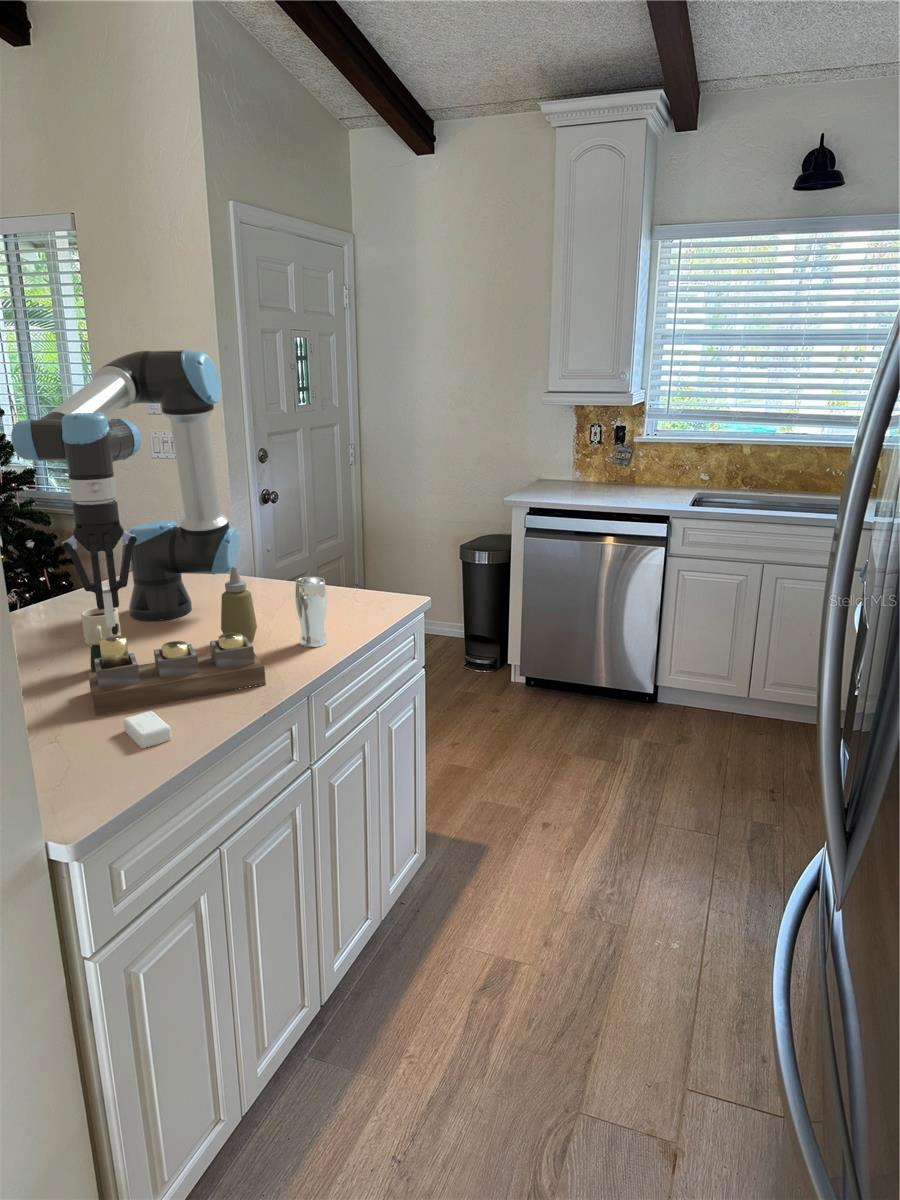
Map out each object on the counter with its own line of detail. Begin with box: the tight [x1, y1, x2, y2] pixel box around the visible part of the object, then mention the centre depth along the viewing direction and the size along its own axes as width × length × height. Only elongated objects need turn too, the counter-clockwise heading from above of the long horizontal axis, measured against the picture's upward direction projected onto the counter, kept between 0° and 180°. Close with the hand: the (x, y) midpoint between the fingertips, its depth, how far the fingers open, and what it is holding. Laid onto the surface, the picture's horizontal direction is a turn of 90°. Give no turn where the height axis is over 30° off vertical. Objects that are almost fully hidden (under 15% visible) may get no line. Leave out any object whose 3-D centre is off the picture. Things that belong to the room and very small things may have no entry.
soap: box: [123, 710, 173, 749], centre depth 145 cm, size 9×6×3 cm, turn 40°
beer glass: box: [294, 576, 328, 648], centre depth 188 cm, size 7×7×15 cm
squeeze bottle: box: [220, 566, 258, 644], centre depth 188 cm, size 8×8×18 cm
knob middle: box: [161, 640, 188, 660], centre depth 163 cm, size 5×5×5 cm
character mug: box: [80, 606, 122, 672], centre depth 173 cm, size 11×7×13 cm, turn 16°
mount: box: [87, 636, 267, 716], centre depth 164 cm, size 12×32×8 cm, turn 116°
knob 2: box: [218, 633, 244, 651], centre depth 168 cm, size 5×5×5 cm
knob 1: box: [99, 634, 129, 668], centre depth 158 cm, size 5×5×5 cm
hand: (110, 624), depth 156 cm, fingers closed
